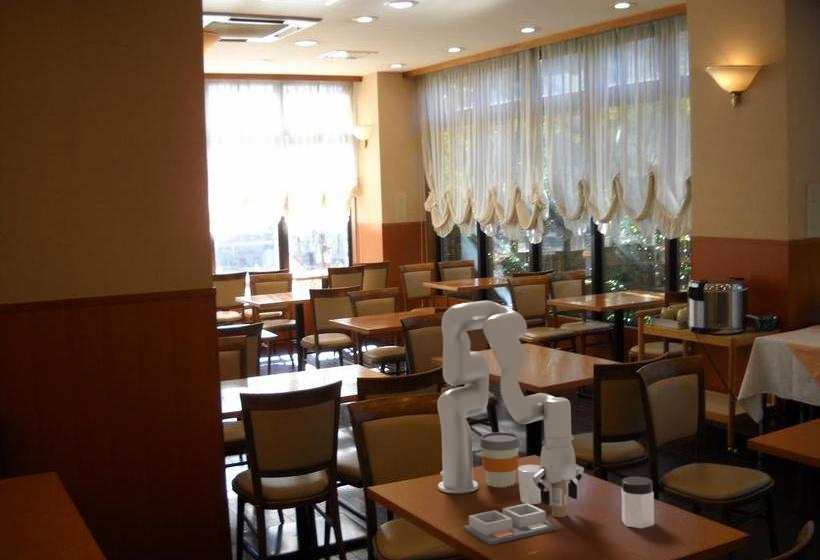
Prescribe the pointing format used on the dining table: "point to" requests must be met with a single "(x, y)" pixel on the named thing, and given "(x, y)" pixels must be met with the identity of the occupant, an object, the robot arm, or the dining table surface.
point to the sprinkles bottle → (559, 498)
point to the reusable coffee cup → (500, 458)
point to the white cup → (528, 484)
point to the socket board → (509, 524)
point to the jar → (637, 502)
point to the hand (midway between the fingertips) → (559, 500)
